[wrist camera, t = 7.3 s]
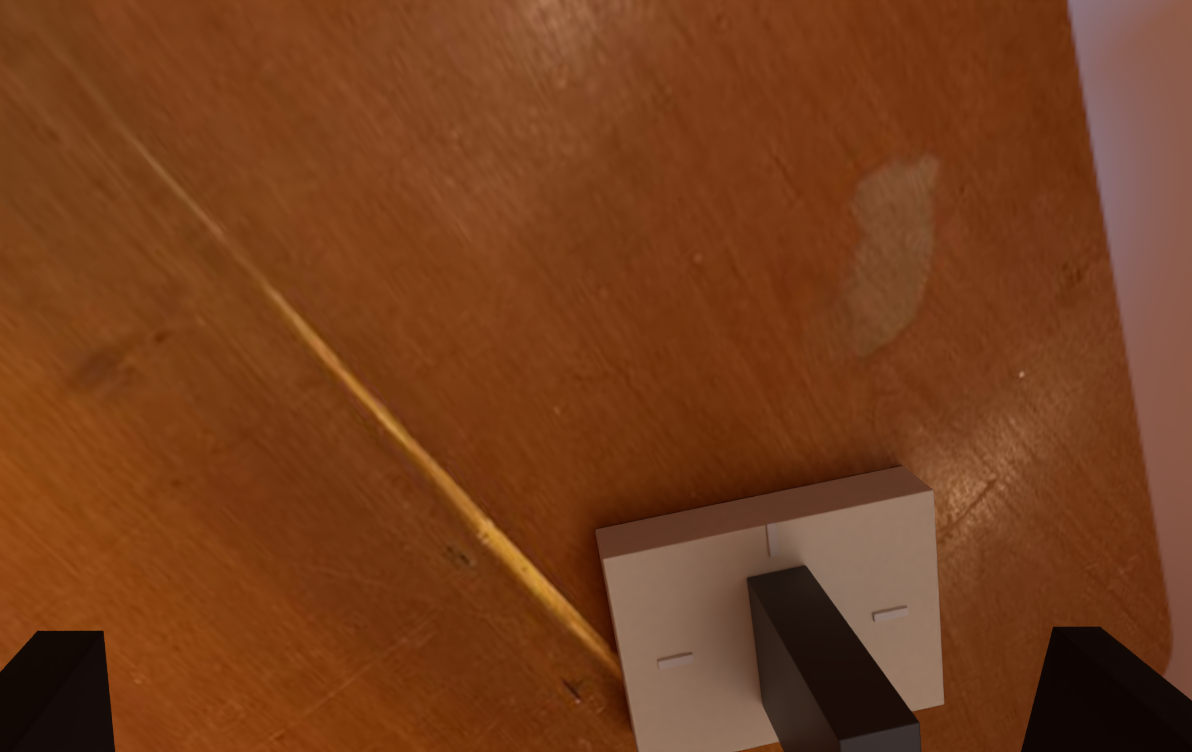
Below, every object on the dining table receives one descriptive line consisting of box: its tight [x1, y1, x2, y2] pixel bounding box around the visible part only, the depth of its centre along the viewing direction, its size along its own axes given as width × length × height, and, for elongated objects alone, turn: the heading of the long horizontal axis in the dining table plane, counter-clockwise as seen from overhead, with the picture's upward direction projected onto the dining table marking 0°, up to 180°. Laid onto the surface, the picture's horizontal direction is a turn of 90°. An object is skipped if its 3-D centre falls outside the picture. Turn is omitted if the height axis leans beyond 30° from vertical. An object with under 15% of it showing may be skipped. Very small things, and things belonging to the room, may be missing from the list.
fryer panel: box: [595, 466, 944, 752], centre depth 34 cm, size 13×10×3 cm
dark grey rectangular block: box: [747, 565, 921, 752], centre depth 28 cm, size 6×2×9 cm, turn 9°
